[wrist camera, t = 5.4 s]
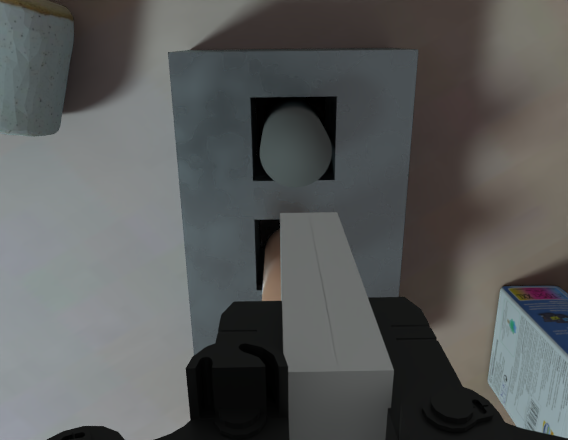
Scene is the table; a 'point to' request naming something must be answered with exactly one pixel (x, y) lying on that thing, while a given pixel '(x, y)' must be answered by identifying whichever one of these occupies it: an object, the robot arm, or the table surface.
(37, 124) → the ceramic mug
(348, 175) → the grey peg holder block
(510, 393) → the ink cartridge box
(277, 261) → the terracotta plug
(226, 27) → the table surface
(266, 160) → the gray plug
